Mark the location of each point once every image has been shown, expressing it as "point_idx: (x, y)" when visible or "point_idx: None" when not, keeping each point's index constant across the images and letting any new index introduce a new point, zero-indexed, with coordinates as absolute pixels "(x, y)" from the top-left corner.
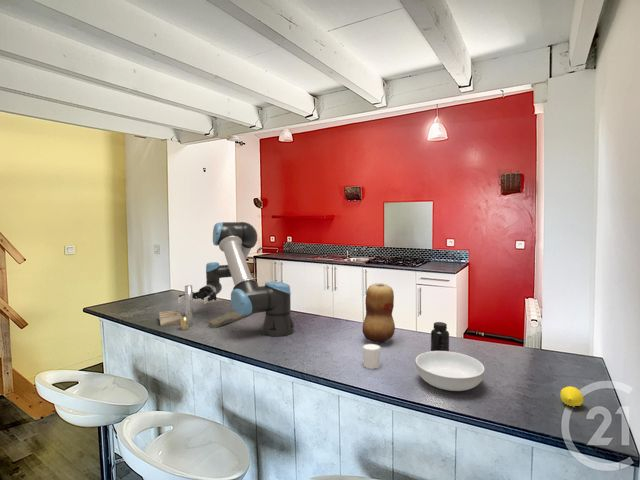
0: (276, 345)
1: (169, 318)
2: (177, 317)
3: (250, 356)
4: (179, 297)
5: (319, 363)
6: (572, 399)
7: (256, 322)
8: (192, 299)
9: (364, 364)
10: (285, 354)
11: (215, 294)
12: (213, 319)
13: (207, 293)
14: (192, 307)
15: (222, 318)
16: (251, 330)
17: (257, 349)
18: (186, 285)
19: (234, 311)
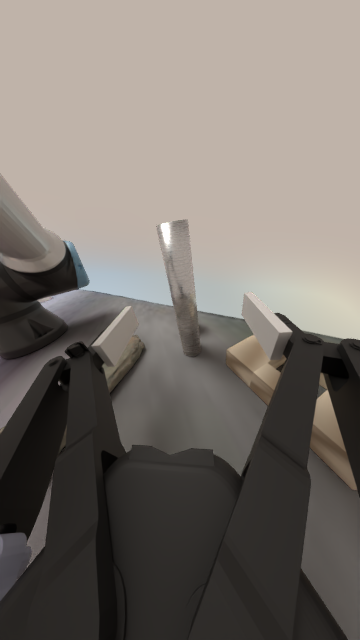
0: (77, 309)
1: (254, 335)
2: (237, 345)
3: (109, 295)
4: (259, 299)
5: (71, 297)
6: None
7: (26, 383)
8: (169, 286)
9: (50, 297)
10: (82, 300)
11: (25, 398)
12: (128, 352)
13: (77, 442)
14: (174, 310)
15: (103, 364)
16: (73, 338)
17: (98, 302)
18: (183, 220)
19: None
